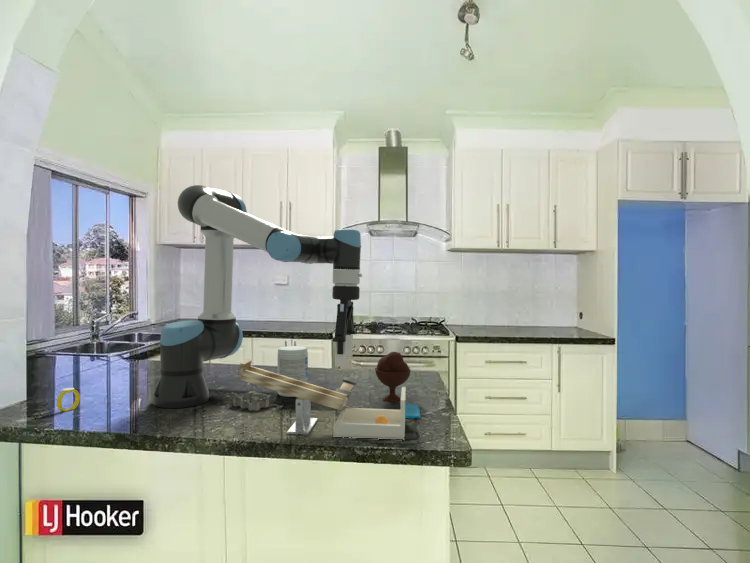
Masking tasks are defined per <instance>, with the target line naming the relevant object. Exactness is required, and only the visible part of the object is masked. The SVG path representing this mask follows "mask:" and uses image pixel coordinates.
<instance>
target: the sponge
mask: <svg viewBox="0 0 750 563" xmlns="http://www.w3.org/2000/svg"><path fill="white" fill-rule="evenodd" d="M414 418H420V419H421V418H422V416H421V411H420V406H419V405H417V403H408V402H406V403H405V419H414Z"/></svg>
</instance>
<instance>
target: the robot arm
mask: <svg viewBox="0 0 750 563" xmlns="http://www.w3.org/2000/svg"><path fill="white" fill-rule="evenodd" d="M177 198H178V199H177V209H178V211H179V213H180V214H181V216H182V218H184V219H185V220H187V221H188V222H190V223H193V224H196V225H198V226H200V233H201V234H202V235H203V236H204V237H205V240H204V241H205V242H204V243H205V245H204V247H205V248H204V273H203V274H204V276H203V278H204V279H203V310H202V313H200V314H199V315H198V316H197V320H195V319H193V320H191V319H190V320H184V321H183V320H182V321H176V322H170V323H168V324H165V325H164V326H163V327H162V328H161V331H160V339H159V343H160V353H159V354H160V362H159V363H160V364H159V366H160V367H159V368H160V369H159V370H160V371H159V372H160V373H159V380H158V382H157V385H156V387H155V391H154V393H153V397H152V400H153V402H152V404H153V406H154V407H158V408H162V409H164V408H165V409H182V408H189V407H194V406H199V405H202V404H205V403H206V402H208V401H209V398H210V392H209V388H208V385H207V382H206V379H205V377H204V372H203V371H204V369H203V368H204V362H208V361H212V360H218V359H219V360H220V359H225V358H228V357H230V356H232V355H233V356H234V354H236V352H238V351H239V350H240V348H241V346H242V343H243V340H244V339H243V338H244V336H243V334H244V333H243V330H242V328H241V326H240V324H239V323H237V322H236V321H237V317H236V315H235V314H234V313H233V311H232V304H233V302H232V300H233V299H232V298H233V272H234V271H233V269H234V268H233V267H234V241H235V240H234V239H237V240H239V241H241V242H243V243H246V244H248V245H250V246H252V247H255V248H257V249H259V250H262V251H264V252H266V253H268V255H269V256H270V258H272V259H274V260H275V261H279V262H282V263H302V264H307V265H308V264H309V265H311V264H332V268H333V269H332V284H334V285H332V295H331V297H332V299H333V300H339V303H337V305H336V306H337V308H336V310H337V311H336V321H335V322H336V323H335V330H334V331H335V332H334V337H332V342H333V343H335V348H334V349H335V353H334V355H335V356H334V360H335V361H334V367H343V368H344V367H347V366H346V365H347V364H346V363H347V362H346V361H347V358H353V353H354V352H353V348H354V346H353V344H354V343H353V342H354V335H356V333H357V332H356V330H355V326H354V308H355V307H354V301H357V300H359V299H360V289H361V288H360V286H358V285H360V278H362V277H363V274H362V273H361V271H360V270H361V249H362V245H361V244H362V243H361V242H362V239H361V232H360V231H359V230H357V229H350V228H337V229H335V230H334V231H333V236H321V237H320V236H313V235H312V236H311V235H306V234H301V233H300V234H299V233H295V232H293V231H290V230H286V229H285V228H282V227H280V226H278V225H276V224H273V223H271V222H268V221H266V220H263V219H261V218H258V217H256V216H254V215H252V214H250V213H248V212H247V206H246V204H245V202H244V201H243V199H242V198H241V197H240V196H239V195H237V194H235V193H232V192H231V191H228V190H222V189H218V188H214V187H213V188H212V187H208V186H205V185H201V184H196V185H190V186H188V187H186V188H184V189H183V191H182V192H181V193H180V194H179V196H178V197H177Z"/></svg>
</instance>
